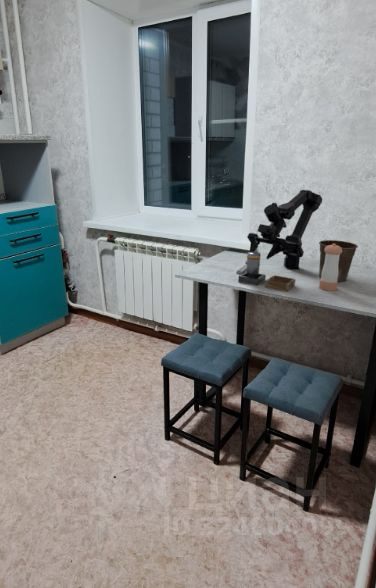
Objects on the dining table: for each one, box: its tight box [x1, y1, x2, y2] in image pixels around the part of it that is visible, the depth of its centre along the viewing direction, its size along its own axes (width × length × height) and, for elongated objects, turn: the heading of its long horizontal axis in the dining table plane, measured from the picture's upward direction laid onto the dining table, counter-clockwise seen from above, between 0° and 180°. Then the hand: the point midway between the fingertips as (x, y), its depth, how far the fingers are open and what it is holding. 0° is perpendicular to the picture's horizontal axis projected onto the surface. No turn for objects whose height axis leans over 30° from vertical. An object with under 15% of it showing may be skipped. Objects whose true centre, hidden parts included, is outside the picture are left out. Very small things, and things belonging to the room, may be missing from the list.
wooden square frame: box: [264, 274, 296, 292], centre depth 169 cm, size 10×10×3 cm
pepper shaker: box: [318, 244, 342, 292], centre depth 166 cm, size 7×7×19 cm
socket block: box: [238, 271, 267, 286], centre depth 176 cm, size 9×9×2 cm
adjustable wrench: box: [235, 260, 247, 275], centre depth 197 cm, size 25×6×2 cm, turn 149°
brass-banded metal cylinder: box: [245, 251, 261, 279], centre depth 175 cm, size 6×6×12 cm
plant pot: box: [318, 239, 359, 283], centre depth 180 cm, size 16×16×16 cm
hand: (258, 256), depth 176 cm, fingers open, 9 cm apart
